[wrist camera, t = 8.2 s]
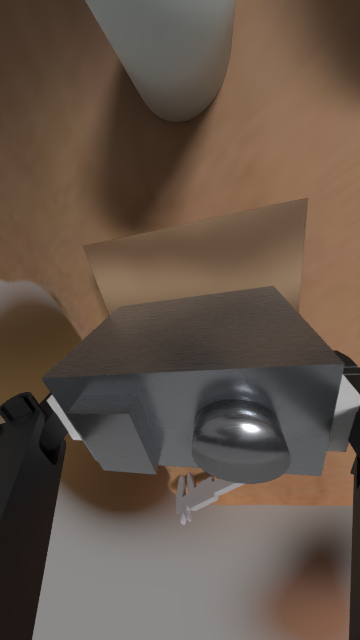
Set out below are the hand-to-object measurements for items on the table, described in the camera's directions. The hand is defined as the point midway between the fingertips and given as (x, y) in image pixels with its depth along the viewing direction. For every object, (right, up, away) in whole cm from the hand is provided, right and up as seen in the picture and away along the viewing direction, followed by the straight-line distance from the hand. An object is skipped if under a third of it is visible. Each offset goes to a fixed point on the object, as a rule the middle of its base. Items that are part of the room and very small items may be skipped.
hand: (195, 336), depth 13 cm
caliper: (+7, -21, +17) cm, 27 cm away
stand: (+1, +3, +5) cm, 6 cm away
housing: (0, 0, 0) cm, 0 cm away
